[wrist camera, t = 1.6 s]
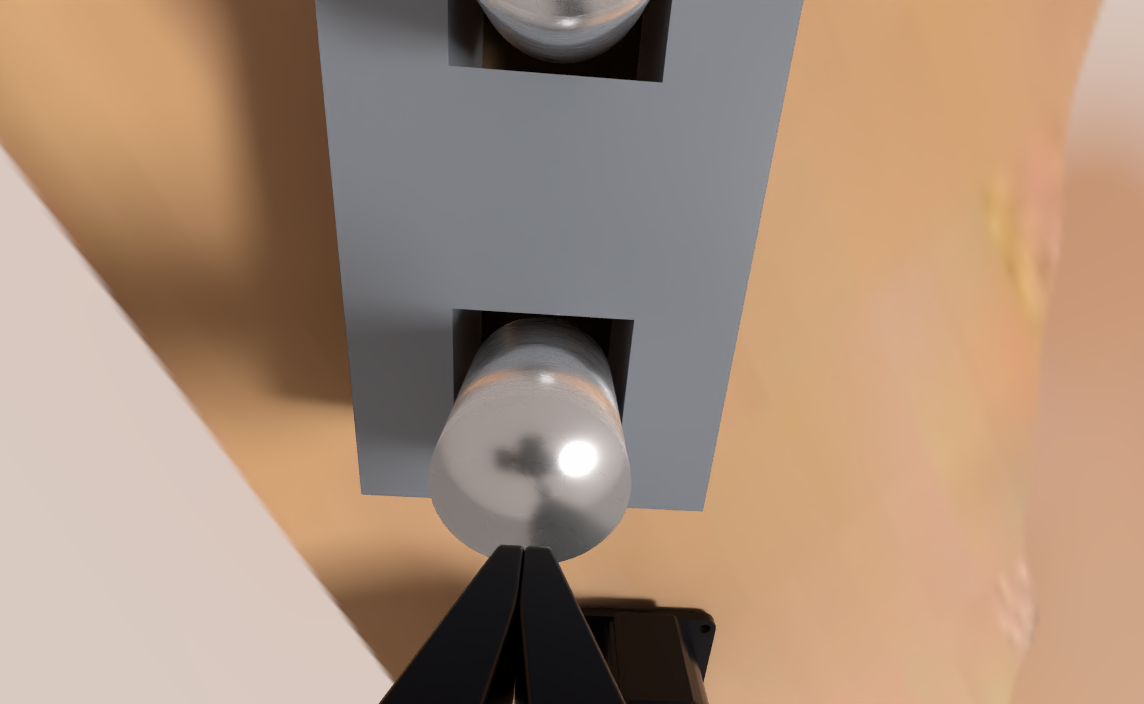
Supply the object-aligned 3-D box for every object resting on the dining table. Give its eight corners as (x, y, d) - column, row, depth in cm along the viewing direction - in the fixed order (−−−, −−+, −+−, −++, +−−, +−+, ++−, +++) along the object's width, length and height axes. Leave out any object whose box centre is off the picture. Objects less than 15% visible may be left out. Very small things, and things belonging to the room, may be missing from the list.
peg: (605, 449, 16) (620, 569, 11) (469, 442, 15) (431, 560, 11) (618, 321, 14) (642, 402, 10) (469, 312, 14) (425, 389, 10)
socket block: (671, 426, 20) (702, 511, 16) (409, 412, 20) (361, 494, 15) (759, -133, 14) (857, -271, 9) (379, -169, 14) (283, -331, 9)
